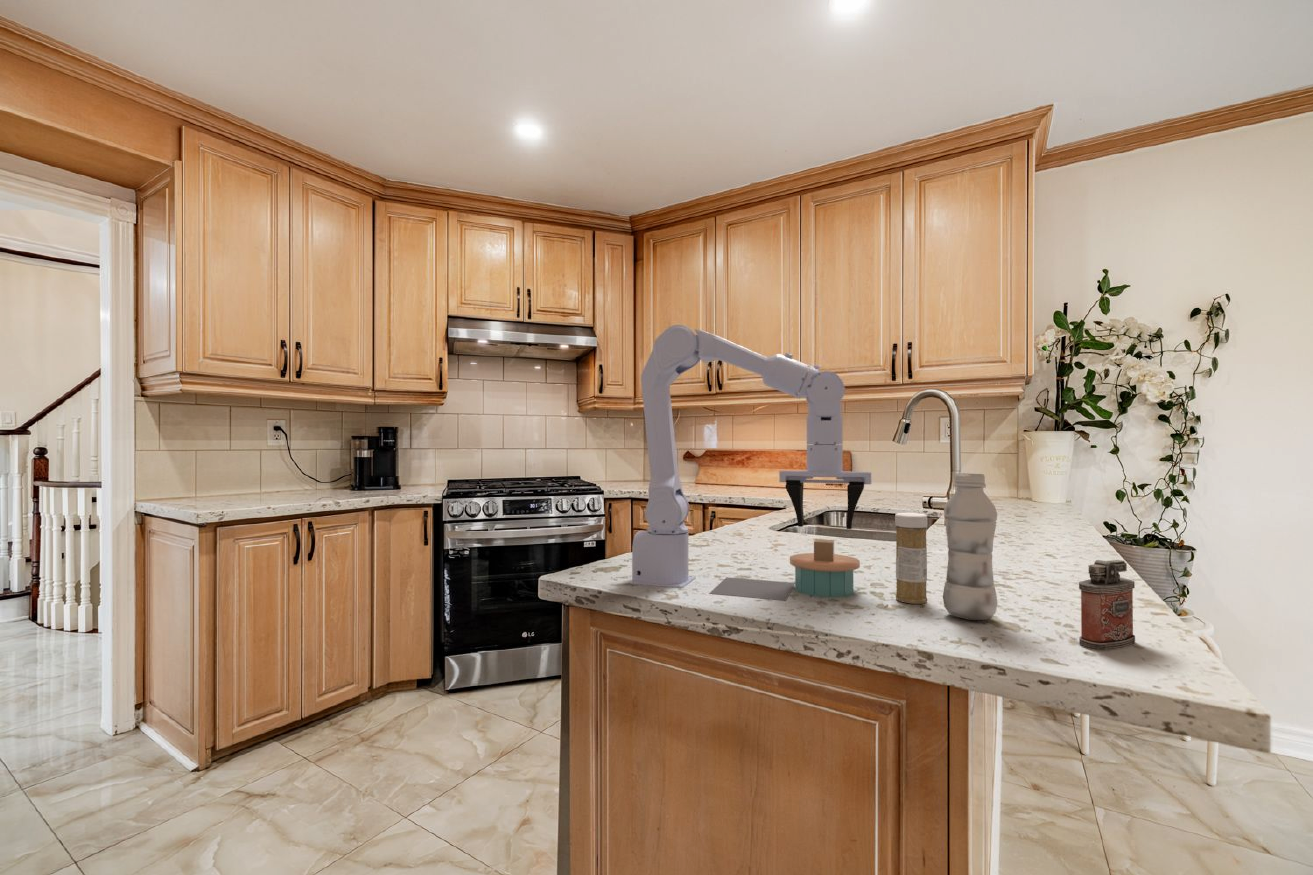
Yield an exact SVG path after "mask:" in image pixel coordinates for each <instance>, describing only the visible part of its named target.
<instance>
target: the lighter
mask: <svg viewBox="0 0 1313 875" xmlns="http://www.w3.org/2000/svg"><path fill="white" fill-rule="evenodd" d="M1127 564H1128V563H1127V562H1125V560H1121V559H1116V560H1115V559H1114V560H1113V559H1112V560H1107V561H1106V560H1101V559H1096V560H1095V561H1094V563H1093V564H1088V574H1089V579H1085V580H1082V581H1079V582H1078V589H1079V590H1080V610H1081V611H1080V612H1081V613H1080V614H1081V615H1080V616H1081V617H1080V618H1081V619H1080V622H1081V626H1080V627H1081V628H1080V629H1081V630H1080V631H1081V633H1080V634H1081V636H1079V641H1078V642H1079V644H1078V645H1079V646H1080V647H1082V648H1084V649H1088V650H1092V651H1097V652H1104V651H1105V652H1107V651H1116V650H1121V649H1125V648H1130V647H1132V646H1133V645H1135V644H1136V635H1135V634H1134V619H1133V618H1134V616H1133V615H1134V614H1133V613H1134V608H1133V607H1134V605H1133V603H1134V600H1133V598H1134V597H1133V596H1134V594H1133V589H1135V586H1136V584H1135V582H1136V581H1134V580H1132V579H1129V578H1122V577H1121V574H1119V573H1123V572H1127V571H1128V570H1127V569H1128V568H1127Z"/></svg>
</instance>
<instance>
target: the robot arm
mask: <svg viewBox="0 0 1313 875" xmlns="http://www.w3.org/2000/svg"><path fill="white" fill-rule="evenodd" d="M700 361H702V363H703V364H708V363H710V362H711V363H712V362H715V361H720V362H724V363H726V364H729V365H732V366H735V367H738V368H739V369H740V368H741V369H743V370H746V371H749V372H752V373H754V374H757V375H760V376H761V379H762V381H763V384H764V386H767V387H769V388H771V389H774V390H777V391H780V392H781V393H783V394H787V395H789V396H792V397H794V398H797V399H803V398H805V400H806V402H807V403H808V404H807V406H808V408H807V412H808V413H807V415H808V416H807V417H806V470H779V483H785V489H786V492H787V494H788V496H789V498H790V501H791V503H792V506H793V508H794V512H795V515H796V520H797V527H798V528H799V527H801V528H802V527H804V525H805V521H804V520H805V517H804V485H805V484H804V483H807V484H808V483H809V484H811V483H813V484H814V483H815V484H847V486H846V487H847V488H846V489H847V515H846V530H852V527H853V526H852V525H853V518H854V514H855V511H856V508H857V505H858V502H859V500H860V497H861V496H862V493H863V491H864V490H865V485H872V472H871V471H849V470H848V471H845V470H843V468H844V467H843V464H844V463H843V462H844V461H843V459H844V458H843V456H844V455H843V454H844V453H843V444H844V443H843V442H844V441H843V439H844V438H843V437H844V434H843V430H844V429H843V423H844V422H843V416H842V412H843V407H842V402H841V401H842V400H843V398H844V397H845V393H846V387H845V385H844V384H845V383H844V382H843V380H842V378H840V376H839V375H838V374H837V373H835V372H833V371H829V370H828V371H827V370H824V371H820V368H821V366H820V365H818V364H814V365H809V364H808V363H807V364H806V363H804V362H802V361H799V360H796V359H794V354H792V353H788V352H785V354H784V355H783V354H781V353H776V354H774V355H772V356H768V357H767V356H765V355H763V354H760V353H758V352H756V351H753V350H751V349H749V348H747V347H745V346H742V345H739V344H737V343H734V342H732V341H730V340H728V339H725V338H723V337H721V336H719V335H716V334H713V333H711V332H707V331H705V330H701V329H696V328H693V330H692V329H691V328H690V327H688V326H687V325H685V324H673V325H671V326H669V327H667V328H666V329H664V331H662V333H661V334H659V336H658V337H656V338H655V340H654V343H653V347H652V350H651V353H650V354H649V357H648V358H647V361H646V363H645V366H644V367H643V369H642V372H641V377H640V384H641V391H642V392H641V395H642V403H643V404H642V405H643V412H644V413H643V416H644V423H645V425H644V426H645V434H646V444H647V454H648V464H649V474H650V480H649V485H648V500H647V501H648V502H647V504H646V506H645V510H644V516H645V520H646V522H647V524H648V525H649V526H648V527H646V528H647V529H646V530H637V531H636V533H635V534H634V537H633V540H632V547H631V548H632V549H631V550H632V551H631V557H632V558H631V560H632V564H631V567H632V571H631V577H632V579H631V580H630V584H633V585H645V586H654V587H663V588H664V587H666V588H676V589H677V588H678V589H684V588H685V587H686V586H688V585H689V584H691V583H692V582H693V581H694V580H696V576H694V575H689V531H690V530H689V527H688V526H687V525H686V523H685V521H686V519H687V518H688V515H689V513H690V504H689V501H688V499H687V497H686V496H685V495H684V492H683V485H682V481H681V478H680V474H679V468H678V467H679V466H678V458H677V447H676V438H675V437H676V436H675V428H674V427H675V426H674V418H673V417H674V416H673V410H672V409H673V407H672V398H671V397H672V396H671V389H670V388H671V386H672V384H673V383H674V382H675V381H676V380H677V379H679V377H680V376H681V375H682V374H683V373H685V372H687V371H688V370H690V369H692V368H694V367H696V366H697V365H698V364H699V362H700ZM814 478H836V479H814Z"/></svg>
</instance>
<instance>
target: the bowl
mask: <svg viewBox="0 0 1313 875" xmlns="http://www.w3.org/2000/svg"><path fill="white" fill-rule="evenodd" d="M794 568H795V569H794V578H795V580H794V583H795V585H794V586H795V588H794V589H795V590H796V591H798V592H799V593H801V594H804V595H809V596H813V597H819V598H820V597H821V598H844V597H849V596H852V595H854V570H851V571H837V572H831V571H816V570H808V569H803V568H798V567H795V566H794Z"/></svg>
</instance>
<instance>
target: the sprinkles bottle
mask: <svg viewBox="0 0 1313 875" xmlns="http://www.w3.org/2000/svg"><path fill="white" fill-rule="evenodd" d="M894 522H895V523H894V525H895V529H896V532H895V533H896V537H895V538H896V539H895V540H896V546H895V550H896V557H895V580H896V590H895V592H896V594H895V599H896V600H897V601H898V602H902V603H906V604H910V605H911V604H912V605H920V604H921V605H922V604H925V603H927V602H928V597H927V581H928V553H927V552H928V551H927V550H928V548H927V530H928V515H926V514H924V513H919V512H897V513H895V516H894Z"/></svg>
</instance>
